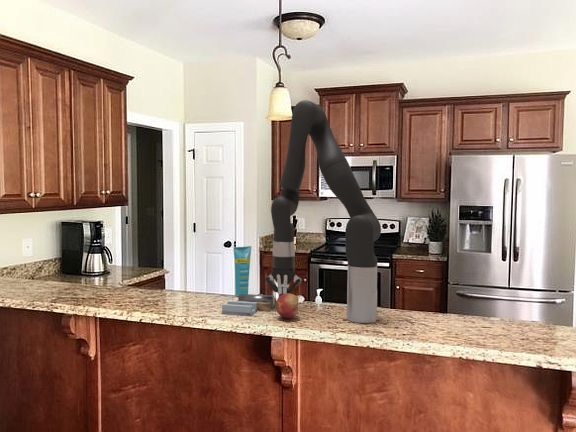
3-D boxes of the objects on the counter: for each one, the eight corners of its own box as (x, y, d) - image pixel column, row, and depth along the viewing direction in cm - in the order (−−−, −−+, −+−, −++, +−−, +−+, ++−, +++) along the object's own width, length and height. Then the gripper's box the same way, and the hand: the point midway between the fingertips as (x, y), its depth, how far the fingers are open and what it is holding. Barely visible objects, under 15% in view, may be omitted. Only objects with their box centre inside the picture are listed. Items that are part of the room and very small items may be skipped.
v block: (256, 311, 158) (257, 302, 158) (251, 316, 152) (251, 306, 152) (228, 309, 160) (228, 300, 160) (221, 313, 154) (221, 304, 154)
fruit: (291, 323, 144) (291, 297, 144) (270, 319, 148) (270, 294, 148) (303, 317, 151) (304, 292, 150) (283, 314, 155) (283, 290, 154)
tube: (236, 297, 179) (236, 247, 178) (230, 295, 183) (230, 246, 182) (253, 295, 183) (253, 246, 183) (247, 293, 187) (247, 245, 187)
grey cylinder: (274, 307, 165) (274, 295, 165) (271, 309, 161) (271, 296, 161) (242, 305, 168) (242, 293, 168) (237, 307, 163) (238, 294, 164)
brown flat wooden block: (276, 305, 167) (276, 298, 167) (269, 311, 158) (269, 303, 158) (244, 303, 170) (244, 296, 170) (235, 308, 161) (235, 301, 161)
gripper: (304, 254, 163) (304, 303, 164) (268, 252, 166) (267, 300, 167) (300, 256, 156) (299, 308, 157) (262, 254, 159) (261, 305, 160)
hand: (283, 304), depth 162 cm, fingers closed
